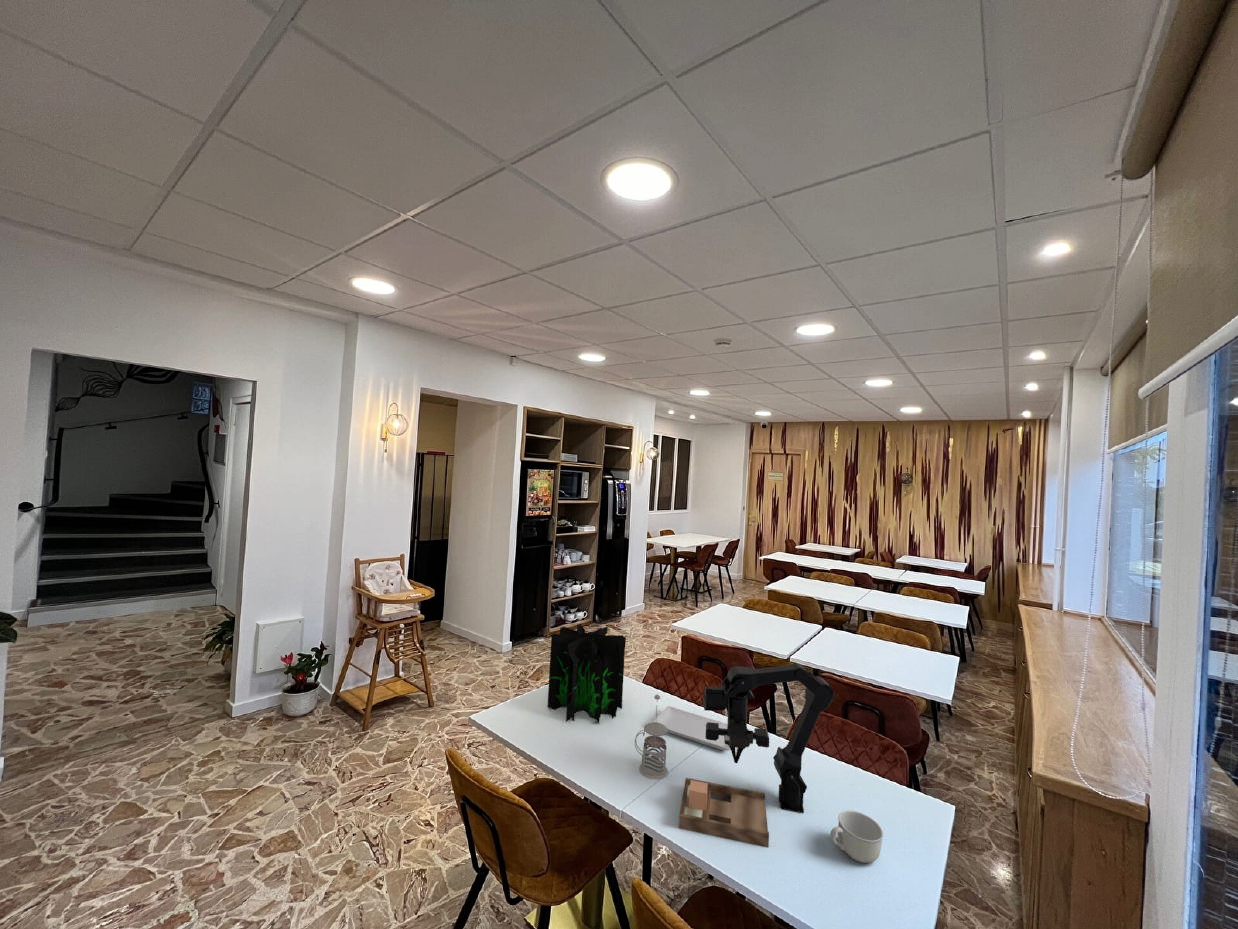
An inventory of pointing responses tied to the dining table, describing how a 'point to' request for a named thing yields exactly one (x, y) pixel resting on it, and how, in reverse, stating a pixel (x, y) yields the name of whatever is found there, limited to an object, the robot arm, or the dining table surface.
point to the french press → (652, 764)
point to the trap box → (727, 814)
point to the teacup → (858, 836)
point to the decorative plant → (586, 672)
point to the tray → (690, 727)
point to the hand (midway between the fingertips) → (735, 762)
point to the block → (698, 795)
